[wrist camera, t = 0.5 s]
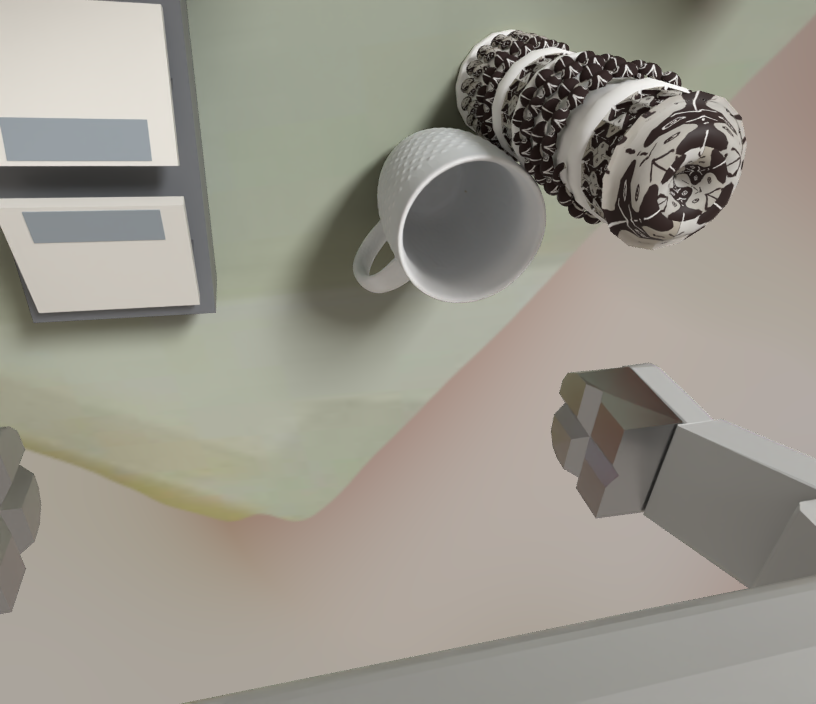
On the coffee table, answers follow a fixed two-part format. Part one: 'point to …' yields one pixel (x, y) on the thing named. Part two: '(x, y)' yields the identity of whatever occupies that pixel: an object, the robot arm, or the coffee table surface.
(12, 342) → the coffee table surface
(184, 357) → the coffee table surface
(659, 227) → the black and white cylinder
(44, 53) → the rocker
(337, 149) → the coffee table surface
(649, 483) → the robot arm
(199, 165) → the switch console
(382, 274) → the mug
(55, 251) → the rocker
